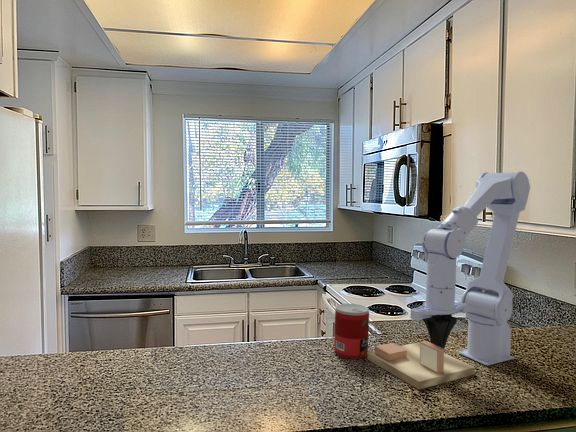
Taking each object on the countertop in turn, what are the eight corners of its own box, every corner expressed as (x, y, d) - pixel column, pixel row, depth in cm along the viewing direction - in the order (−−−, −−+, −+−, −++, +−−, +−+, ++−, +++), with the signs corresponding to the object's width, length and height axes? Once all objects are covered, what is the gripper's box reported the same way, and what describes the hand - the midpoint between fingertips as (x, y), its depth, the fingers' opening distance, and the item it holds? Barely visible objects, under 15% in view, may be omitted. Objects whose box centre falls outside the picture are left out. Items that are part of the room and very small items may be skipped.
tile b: (425, 362, 89) (425, 340, 89) (443, 372, 85) (443, 348, 84) (419, 364, 88) (419, 341, 88) (437, 373, 84) (438, 350, 84)
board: (419, 348, 102) (419, 342, 102) (474, 374, 88) (474, 367, 88) (367, 359, 95) (367, 352, 95) (418, 389, 80) (418, 381, 80)
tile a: (391, 342, 96) (374, 346, 94) (406, 350, 92) (389, 354, 90) (391, 349, 96) (374, 353, 94) (406, 357, 92) (389, 361, 90)
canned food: (367, 361, 94) (369, 313, 93) (332, 357, 95) (333, 311, 95) (368, 348, 101) (369, 304, 100) (335, 345, 103) (336, 302, 102)
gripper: (449, 279, 93) (447, 338, 94) (401, 284, 87) (398, 347, 87) (476, 286, 87) (473, 348, 88) (426, 292, 80) (423, 360, 81)
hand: (437, 349), depth 87 cm, fingers closed
